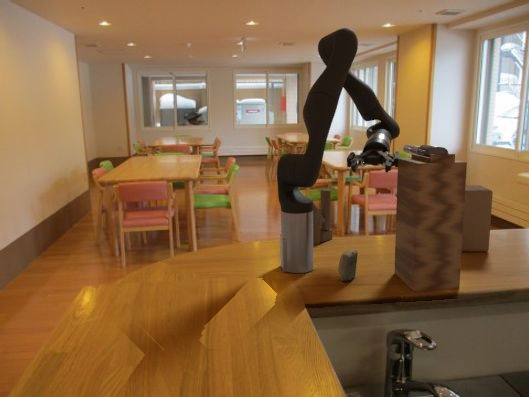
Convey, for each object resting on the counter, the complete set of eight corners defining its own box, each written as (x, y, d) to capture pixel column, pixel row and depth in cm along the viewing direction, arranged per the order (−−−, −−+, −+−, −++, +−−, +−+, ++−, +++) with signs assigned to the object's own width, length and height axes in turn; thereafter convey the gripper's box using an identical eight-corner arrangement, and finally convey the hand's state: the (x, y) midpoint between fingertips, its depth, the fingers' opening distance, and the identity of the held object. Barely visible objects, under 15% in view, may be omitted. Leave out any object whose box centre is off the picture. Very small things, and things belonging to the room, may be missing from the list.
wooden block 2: (478, 243, 153) (482, 185, 149) (489, 252, 143) (494, 189, 139) (447, 243, 154) (450, 185, 150) (456, 252, 144) (460, 190, 140)
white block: (358, 283, 119) (359, 254, 118) (338, 283, 120) (338, 254, 118) (356, 276, 125) (357, 248, 123) (337, 275, 125) (337, 248, 124)
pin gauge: (433, 162, 109) (434, 147, 108) (400, 154, 130) (401, 142, 129) (447, 162, 109) (449, 147, 109) (412, 155, 130) (413, 142, 129)
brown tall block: (413, 291, 114) (418, 155, 107) (394, 273, 126) (398, 150, 120) (459, 288, 114) (467, 153, 108) (436, 271, 127) (442, 149, 121)
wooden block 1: (306, 243, 157) (305, 192, 154) (324, 237, 165) (324, 188, 161) (314, 245, 154) (314, 193, 151) (332, 239, 162) (333, 189, 159)
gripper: (352, 137, 136) (342, 156, 123) (401, 136, 131) (397, 155, 118) (353, 160, 139) (344, 181, 126) (402, 160, 135) (397, 182, 121)
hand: (370, 169), depth 122 cm, fingers open, 8 cm apart
